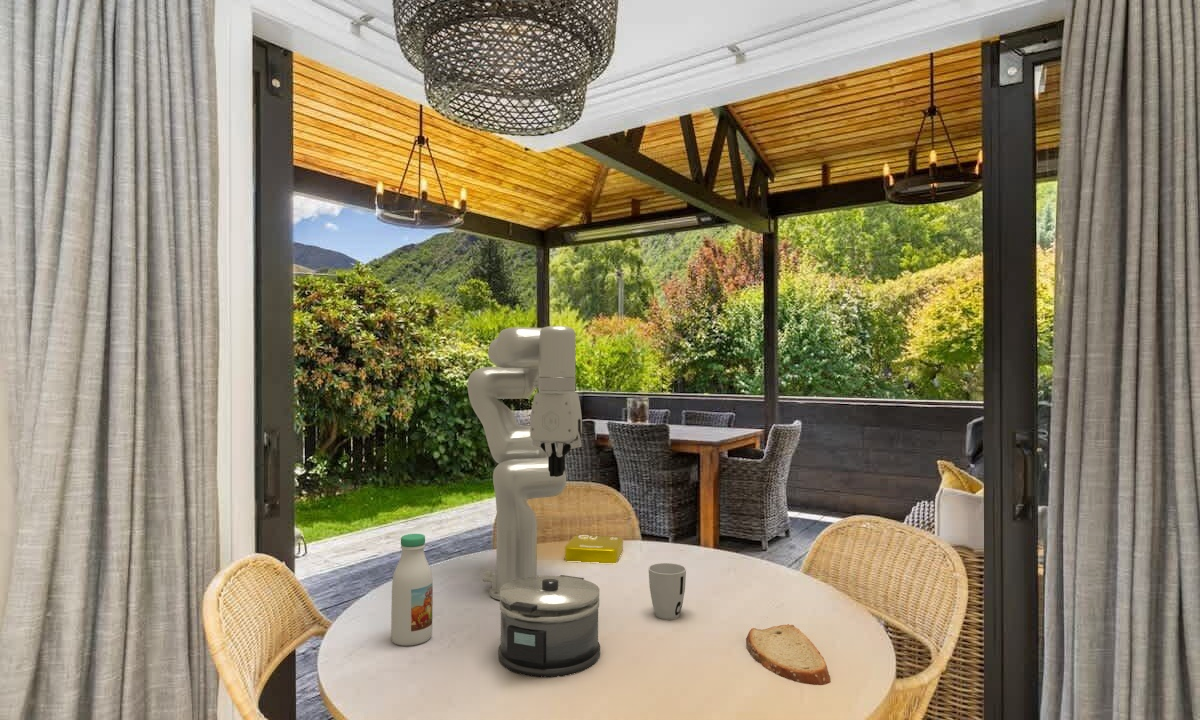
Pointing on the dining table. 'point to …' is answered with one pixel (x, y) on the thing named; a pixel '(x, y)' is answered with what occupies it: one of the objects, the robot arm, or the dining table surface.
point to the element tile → (594, 549)
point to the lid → (549, 593)
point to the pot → (549, 640)
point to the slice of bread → (788, 654)
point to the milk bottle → (412, 594)
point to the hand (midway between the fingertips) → (556, 475)
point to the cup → (667, 589)
